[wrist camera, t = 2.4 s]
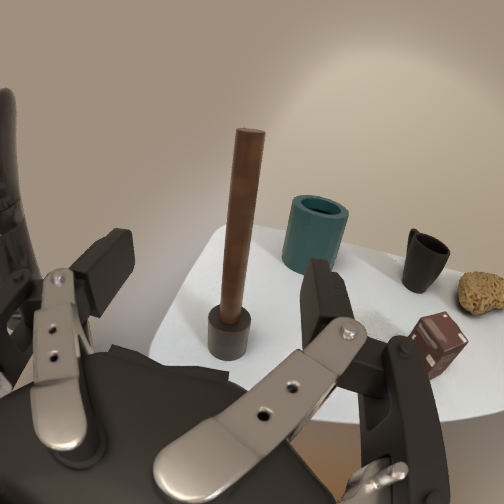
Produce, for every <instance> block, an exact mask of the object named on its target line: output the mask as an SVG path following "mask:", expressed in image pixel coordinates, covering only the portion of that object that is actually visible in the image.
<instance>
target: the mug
mask: <svg viewBox="0 0 504 504" xmlns="http://www.w3.org/2000/svg"><path fill="white" fill-rule="evenodd" d="M449 256H450V250H449V249H448V247H446V245H445V244H443V243H442V242H441V241H439V240H438V239H436V238H434V237H432V236H429V235H427V234H423V233H420V232H418V231H417V230H416V229H411V231H410V233H409V238H408V245H407V254H406V260H405V265H404V272H403V278H402V282H403V284H404V285H405V287H406V288H408V289H409V290H411V291H413V292H415V293H423V292H425V291H426V289H427V288H428V287H429V286H430V285H431V284H432V283H433V282H434V281H435V280H436V279H437V277H438V276H439V275H440V273H441V271H442V270H443V268H444V266H445V264H446V262H447V260H448V258H449Z"/></svg>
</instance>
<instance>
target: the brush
mask: <svg viewBox="0 0 504 504" xmlns="http://www.w3.org/2000/svg"><path fill="white" fill-rule="evenodd" d="M264 141H265V132H264V131H261V130H255V129H247V128H238V129H237V130H236V136H235V145H234V154H233V164H232V173H231V183H230V193H229V203H228V214H227V225H226V237H225V249H224V261H223V274H222V288H221V302H220V305H217V306H215V307H214V308H213V309H212V310H211V311H210V313H209V316H208V349H209V351H210V353H211V354H212V355H213V356H214V357H216V358H218V359H220V360H224V361H232V360H236V359H238V358H240V357H241V356H242V355H243V354H244V353H245V351H246V346H247V341H248V335H249V329H250V324H251V317H250V314H249V312H248V311H247V310H246V309H245V308H243V307H242V300H243V293H244V285H245V278H246V271H247V263H248V256H249V249H250V241H251V234H252V227H253V220H254V212H255V204H256V198H257V191H258V183H259V176H260V169H261V162H262V155H263V148H264Z"/></svg>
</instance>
